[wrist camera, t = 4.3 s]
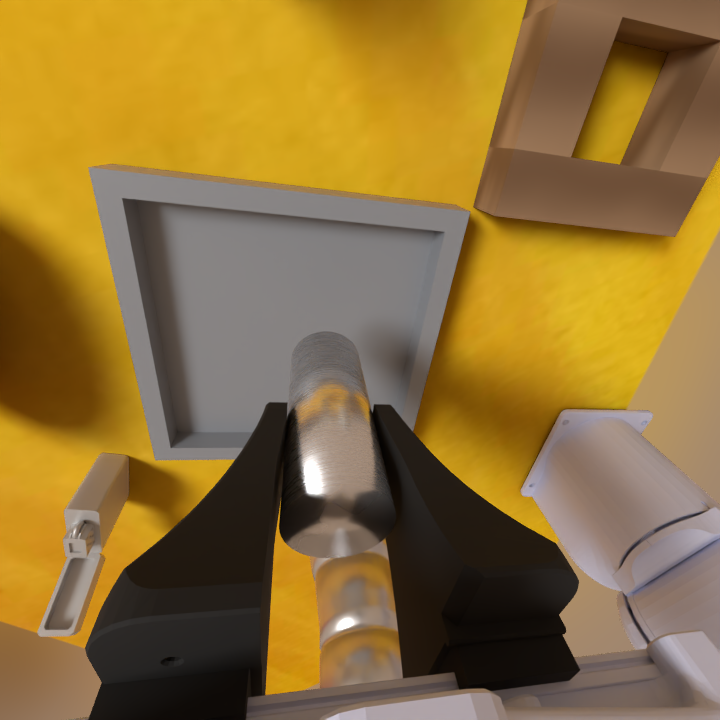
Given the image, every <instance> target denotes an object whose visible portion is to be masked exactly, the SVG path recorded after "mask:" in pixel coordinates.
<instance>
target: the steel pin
mask: <svg viewBox="0 0 720 720" xmlns="http://www.w3.org/2000/svg"><path fill="white" fill-rule="evenodd" d="M395 521H396V511H395V507H394V503H393V499H392V494H391V490H390V486H389V482H388V477H387V473H386V469H385V465H384V460H383V456H382V452H381V448H380V443H379V439H378V435H377V430H376V426H375V422H374V418H373V413H372V409H371V405H370V401H369V396H368V392H367V388H366V384H365V379H364V375H363V371H362V367H361V362H360V358H359V354H358V351H357V348H356V347H355V345H354V344H353V343H352V341H350V340H349V339H348V338H347V337H345V336H343V335H341V334H339V333H335V332H329V331H323V332H317V333H313V334H311V335H308V336H307V337H305V338H304V339H302V340H301V341H300V342H299V343H298V344H297V345H296V347H295V349H294V351H293V353H292V357H291V370H290V384H289V398H288V412H287V427H286V440H285V454H284V467H283V481H282V495H281V509H280V523H279V530H280V534H281V537H282V538H283V540H284V542H285V543H286V544H287V545H288V546H290V547H291V548H292V549H294V550H295V551H297V552H299V553H302V554H305V555H308V556H312V557H318V558H341V557H347V556H352V555H356V554H359V553H362V552H364V551H366V550H369V549H371V548H372V547H374V546H376V545H377V544H379V543H380V542H382V541H383V540H384V539H385V538H386V537H387V536H388V535H389V533H390V532H391V531H392V529H393V527H394V525H395Z"/></svg>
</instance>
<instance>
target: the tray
mask: <svg viewBox="0 0 720 720" xmlns="http://www.w3.org/2000/svg"><path fill="white" fill-rule="evenodd" d="M88 168H89V172H90V177H91V181H92V185H93V190H94V194H95V199H96V203H97V207H98V212H99V216H100V220H101V225H102V229H103V233H104V238H105V242H106V247H107V251H108V255H109V260H110V264H111V268H112V273H113V277H114V282H115V286H116V290H117V295H118V299H119V303H120V308H121V312H122V317H123V321H124V325H125V330H126V334H127V338H128V343H129V347H130V352H131V356H132V360H133V365H134V369H135V373H136V378H137V382H138V386H139V391H140V395H141V400H142V404H143V408H144V413H145V417H146V421H147V426H148V430H149V435H150V439H151V443H152V448H153V452H154V456H155V460H216V459H236V458H237V456H238V455H239V454H240V452H241V451H242V449H243V448H244V446H245V445H246V443H247V442H248V440H249V438H250V437H251V435H252V433H253V431H254V430H255V428H256V426H257V424H258V422H259V420H260V418H261V416H262V414H263V412H264V409H265V406H266V404H268V403H269V402H288V398H289V384H290V370H291V357H292V353H293V351H294V349H295V347H296V345H297V344H298V343H299V342H300V341H301V340H302V339H304V338H305V337H307V336H308V335H311V334H313V333H317V332H323V331H329V332H335V333H339V334H341V335H343V336H345V337H347V338H348V339H349V340H350V341H352V343H353V344H354V345H355V347H356V348H357V351H358V354H359V358H360V362H361V367H362V371H363V375H364V379H365V384H366V388H367V392H368V396H369V401H370V405H371V409H372V413H373V407H374V404H389V405H391V406H392V407H393V408H394V409H395V410H396V412H397V413H398V414H399V415H400V417H401V418H402V419H403V420H404V422H405V423H406V424H407V425H408V427H409V428H410V429H411V430H412V431H413V430H414V426H415V422H416V418H417V414H418V411H419V407H420V403H421V399H422V395H423V391H424V388H425V384H426V380H427V376H428V372H429V368H430V365H431V361H432V357H433V353H434V349H435V345H436V342H437V338H438V334H439V330H440V326H441V322H442V319H443V315H444V311H445V307H446V303H447V300H448V296H449V292H450V288H451V284H452V280H453V277H454V273H455V269H456V265H457V261H458V257H459V254H460V250H461V246H462V242H463V238H464V234H465V231H466V227H467V223H468V219H469V215H470V211H468V210H465V209H463V208H461V207H459V206H457V205H452V204H444V203H436V202H427V201H419V200H410V199H402V198H394V197H385V196H377V195H368V194H360V193H352V192H343V191H335V190H326V189H318V188H310V187H301V186H293V185H284V184H276V183H268V182H259V181H251V180H242V179H234V178H226V177H217V176H209V175H200V174H192V173H183V172H175V171H167V170H158V169H150V168H141V167H133V166H125V165H116V164H107V165H101V166H94V167H88ZM287 412H288V404H287Z"/></svg>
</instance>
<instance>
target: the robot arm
mask: <svg viewBox="0 0 720 720" xmlns="http://www.w3.org/2000/svg"><path fill="white" fill-rule="evenodd" d="M287 404H288V402H269V403H268V404H266V406H265V409H264V412H263V414H262V416H261V418H260V420H259V422H258V424H257V426H256V428H255V430H254V431H253V433H252V435H251V437H250V438H249V440H248V442H247V443H246V445H245V446H244V448H243V449H242V451H241V452H240V454H239V455H238V456H237V458H236V459H235V461H234V462H233V464H232V465H231V466H230V468H229V469H228V470H227V472H226V473H225V474H224V475H223V477H222V478H221V479H220V480H219V481H218V483H217V484H216V485H215V486H214V487H213V488H212V490H211V491H210V492H209V493H208V494H207V495H206V496H205V497H204V498H203V499H202V500H201V502H200V503H199V504H198V505H197V506H196V507H195V508H194V509H193V510H192V511H191V512H190V513H189V514H188V515H187V516H186V517H185V518H183V519H182V520H181V521H180V522H179V523H178V524H177V525H176V526H175V527H174V528H173V529H172V530H171V531H169V532H168V533H167V534H166V535H165V536H164V537H163V538H162V539H160V540H159V541H158V542H157V543H156V544H154V545H153V546H152V547H151V548H150V549H148V550H147V551H146V552H145V553H143V554H142V555H141V556H140V557H138V558H137V559H136V560H135V561H133V562H132V563H131V564H130V565H128V566H127V567H126V568H125V569H124V570H123V571H122V573H121V574H120V576H119V578H118V579H117V581H116V583H115V584H114V586H113V588H112V589H111V591H110V593H109V595H108V597H107V598H106V600H105V602H104V604H103V606H102V608H101V610H100V612H99V615H98V617H97V620H96V622H95V625H94V627H93V630H92V632H91V635H90V637H89V639H88V642H87V644H86V647H85V650H86V654H87V657H88V659H89V661H90V662H91V664H92V666H93V668H94V669H95V671H96V673H97V675H98V676H99V678H100V680H101V682H102V684H101V687H100V689H99V692H98V695H97V697H96V700H95V703H94V706H93V708H92V711H91V714H90V717H85V718H77V719H68V720H720V504H719V503H717V502H716V501H715V500H714V499H713V498H712V497H711V496H710V495H708V494H707V493H706V492H705V491H704V490H703V489H701V488H700V487H699V486H698V485H697V484H696V483H695V482H694V481H693V480H692V479H690V478H689V477H688V476H687V475H686V474H685V473H684V472H682V471H681V470H680V469H679V468H678V467H677V466H676V465H675V464H673V463H672V462H671V461H670V460H669V459H668V458H667V457H666V456H664V455H663V454H662V453H661V452H660V451H658V449H656V448H655V447H654V446H653V445H652V444H651V443H650V442H649V441H647V440H646V439H645V438H644V437H643V436H642V435H641V434H642V432H643V431H644V429H645V428H646V426H647V425H648V423H649V422H650V421H651V419H652V417H653V414H652V413H651V412H650V411H648V410H586V409H567V410H564V411H562V412H561V413H560V415H559V417H558V419H557V421H556V423H555V424H554V426H553V428H552V430H551V432H550V434H549V436H548V438H547V440H546V442H545V444H544V446H543V448H542V450H541V452H540V453H539V455H538V457H537V459H536V461H535V463H534V465H533V467H532V469H531V471H530V473H529V475H528V477H527V479H526V481H525V483H524V484H523V486H522V488H521V491H520V492H521V494H522V495H523V496H526V497H528V496H532V497H533V499H534V500H535V502H536V503H537V505H538V507H539V508H540V510H541V511H542V513H543V515H544V516H545V518H546V519H547V521H548V522H549V524H550V526H551V527H552V529H553V530H554V532H555V533H556V535H557V537H558V538H559V540H560V541H561V543H562V544H563V546H564V548H565V549H566V551H567V552H568V554H569V555H570V557H571V558H572V560H573V561H574V562H575V563H576V564H577V565H578V567H580V568H581V569H582V570H583V571H584V572H585V573H586V574H587V575H588V576H590V577H591V578H592V579H594V580H595V581H597V582H598V583H600V584H602V585H604V586H606V587H608V588H611V589H614V590H618V591H620V592H619V594H618V595H617V606H618V610H619V617H620V620H621V623H622V626H623V628H624V630H625V632H626V634H627V636H628V638H629V640H630V641H631V643H632V645H633V646H634V648H635V650H631V651H623V652H614V653H607V654H598V655H590V656H582V657H573V655H572V653H571V651H570V649H569V647H568V645H567V643H566V641H565V639H564V637H563V635H562V634H565V633H566V628H565V626H564V624H563V622H562V620H561V618H560V616H559V614H560V613H561V611H562V610H563V609H564V608H565V607H566V606H567V604H568V603H569V602H570V601H571V599H572V598H573V597H574V595H575V594H576V592H577V589H578V584H579V580H578V578H577V576H576V574H575V573H574V571H573V569H572V568H571V566H570V565H569V563H568V561H567V559H566V558H565V556H564V555H563V553H562V552H561V550H560V549H559V547H558V546H557V544H556V543H554V542H552V541H551V540H549V539H547V538H545V537H544V536H542V535H540V534H538V533H536V532H535V531H533V530H531V529H529V528H527V527H526V526H524V525H522V524H521V523H519V522H517V521H516V520H514V519H513V518H511V517H510V516H508V515H507V514H505V513H503V512H502V511H500V510H499V509H497V508H496V507H495V506H493V505H492V504H490V503H489V502H488V501H486V500H485V499H484V498H482V497H481V496H479V495H478V494H477V493H475V492H474V491H473V490H472V489H470V488H469V487H468V486H467V485H465V484H464V483H463V482H462V481H461V480H460V479H458V478H457V477H456V476H455V475H454V474H453V473H452V472H450V471H449V470H448V469H447V468H446V467H445V466H444V465H443V464H442V463H441V462H440V461H439V460H438V459H437V458H436V457H435V456H434V455H433V454H432V453H431V452H430V451H429V450H428V449H427V448H426V446H425V445H424V444H423V443H422V442H421V441H420V440H419V438H418V437H417V436H416V435H415V434H414V433H413V431H412V430H411V429H410V428H409V427H408V425H407V424H406V423H405V422H404V420H403V419H402V418H401V417H400V415H399V414H398V413H397V412H396V410H395V409H394V408H393V407H392V406H391V405H389V404H374V407H373V418H374V422H375V426H376V430H377V435H378V439H379V443H380V448H381V452H382V456H383V460H384V465H385V469H386V473H387V477H388V482H389V486H390V490H391V494H392V499H393V503H394V507H395V511H396V521H395V525H394V527H393V529H392V531H391V532H390V533H389V535H388V536H387V537H386V538H385V539H386V544H387V551H388V558H389V564H390V571H391V579H392V586H393V594H394V601H395V610H396V618H397V627H398V635H399V645H400V655H401V665H402V675H403V679H394V680H386V681H378V682H370V683H362V684H354V685H345V686H337V687H329V688H321V689H313V690H305V691H297V692H288V693H280V694H272V695H265V689H266V671H267V654H268V637H269V620H270V603H271V587H272V570H273V554H274V543H275V534H276V527H277V521H278V514H279V508H280V501H281V494H282V481H283V467H284V454H285V440H286V427H287Z"/></svg>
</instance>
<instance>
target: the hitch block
mask: <svg viewBox="0 0 720 720" xmlns="http://www.w3.org/2000/svg"><path fill="white" fill-rule="evenodd" d="M613 41H619V42H623V43H627V44H632V45H636V46H641V47H645V48H650V49H654V50H659V51H663V52H668V55H667V58H666V60H665V62H664V64H663V67H662V69H661V71H660V74H659V76H658V78H657V81H656V83H655V85H654V88H653V90H652V92H651V95H650V97H649V99H648V102H647V104H646V106H645V108H644V111H643V113H642V115H641V118H640V120H639V122H638V125H637V127H636V129H635V132H634V134H633V136H632V139H631V141H630V143H629V146H628V148H627V150H626V152H625V155H624V157H623V159H622V162H621V164H620V165H618V164H611V163H605V162H598V161H592V160H585V159H578V158H572V157H571V156H572V153H573V150H574V148H575V145H576V142H577V139H578V137H579V134H580V131H581V129H582V126H583V123H584V120H585V118H586V115H587V112H588V109H589V107H590V104H591V101H592V99H593V96H594V93H595V90H596V88H597V85H598V82H599V80H600V77H601V74H602V71H603V69H604V66H605V63H606V60H607V58H608V55H609V52H610V50H611V47H612V44H613ZM719 156H720V0H528V1H527V5H526V9H525V13H524V17H523V20H522V24H521V28H520V32H519V36H518V39H517V43H516V47H515V51H514V55H513V58H512V62H511V66H510V70H509V74H508V77H507V81H506V85H505V89H504V93H503V96H502V100H501V104H500V108H499V112H498V115H497V119H496V123H495V127H494V131H493V134H492V138H491V142H490V146H489V150H488V153H487V157H486V161H485V165H484V168H483V172H482V176H481V180H480V184H479V187H478V191H477V195H476V199H475V203H474V206H473V207H475V208H477V209H479V210H482V211H484V212H486V213H489V214H491V215H494V216H499V217H508V218H516V219H525V220H534V221H542V222H551V223H560V224H568V225H577V226H585V227H594V228H603V229H611V230H620V231H629V232H637V233H646V234H655V235H663V236H672V237H675V236H676V234H677V232H678V231H679V229H680V227H681V225H682V223H683V222H684V220H685V218H686V216H687V214H688V212H689V211H690V209H691V207H692V205H693V203H694V201H695V200H696V198H697V196H698V194H699V192H700V191H701V189H702V187H703V185H704V183H705V181H706V180H707V178H708V176H709V174H710V172H711V170H712V169H713V167H714V165H715V163H716V161H717V160H718V158H719Z"/></svg>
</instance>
